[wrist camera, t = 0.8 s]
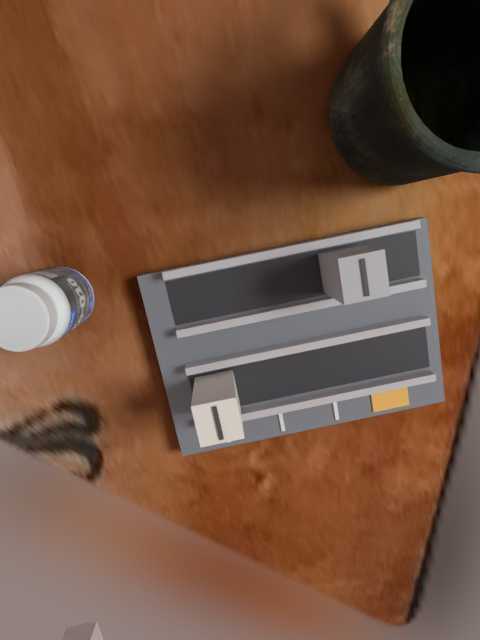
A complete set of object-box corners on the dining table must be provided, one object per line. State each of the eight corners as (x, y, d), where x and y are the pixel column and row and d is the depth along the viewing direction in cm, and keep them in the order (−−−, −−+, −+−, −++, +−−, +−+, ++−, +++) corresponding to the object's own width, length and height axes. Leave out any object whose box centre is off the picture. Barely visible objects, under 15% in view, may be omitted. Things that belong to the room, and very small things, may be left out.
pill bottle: (99, 325, 33) (61, 357, 25) (37, 328, 33) (-21, 361, 25) (92, 264, 32) (50, 277, 24) (28, 267, 32) (-36, 281, 24)
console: (139, 274, 33) (120, 286, 26) (419, 217, 33) (470, 215, 26) (183, 448, 36) (176, 498, 29) (437, 395, 36) (487, 433, 30)
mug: (330, 203, 32) (394, 190, 21) (305, -15, 29) (364, -176, 18) (469, 179, 33) (611, 153, 21) (460, -40, 29) (621, -216, 18)
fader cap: (194, 377, 33) (190, 407, 28) (232, 369, 33) (235, 397, 28) (203, 412, 34) (200, 448, 28) (240, 404, 34) (244, 439, 28)
